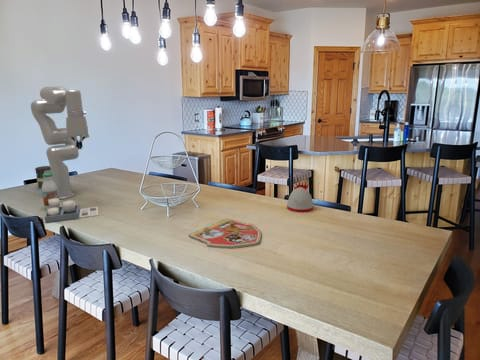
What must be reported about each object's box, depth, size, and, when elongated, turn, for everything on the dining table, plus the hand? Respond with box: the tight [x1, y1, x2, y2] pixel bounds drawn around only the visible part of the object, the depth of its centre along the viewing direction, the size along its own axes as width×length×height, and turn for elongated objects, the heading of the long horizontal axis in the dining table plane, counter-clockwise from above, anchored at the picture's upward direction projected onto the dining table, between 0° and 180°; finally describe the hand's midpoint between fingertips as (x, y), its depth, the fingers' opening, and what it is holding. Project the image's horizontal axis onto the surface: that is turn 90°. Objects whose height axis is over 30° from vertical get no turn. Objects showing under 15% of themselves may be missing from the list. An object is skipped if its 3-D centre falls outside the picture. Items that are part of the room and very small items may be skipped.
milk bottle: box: [41, 173, 61, 211], centre depth 195 cm, size 8×8×20 cm
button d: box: [62, 199, 75, 212], centre depth 181 cm, size 5×5×5 cm
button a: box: [48, 198, 61, 208], centre depth 185 cm, size 5×5×5 cm
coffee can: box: [34, 165, 51, 191], centre depth 239 cm, size 10×10×14 cm
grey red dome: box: [286, 181, 314, 213], centre depth 190 cm, size 14×14×15 cm
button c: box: [48, 207, 59, 216], centre depth 179 cm, size 5×5×5 cm
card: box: [78, 206, 99, 219], centre depth 189 cm, size 14×9×1 cm, turn 22°
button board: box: [44, 204, 80, 224], centre depth 184 cm, size 15×15×3 cm
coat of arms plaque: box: [187, 217, 262, 249], centre depth 157 cm, size 29×30×4 cm
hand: (79, 149), depth 189 cm, fingers closed
